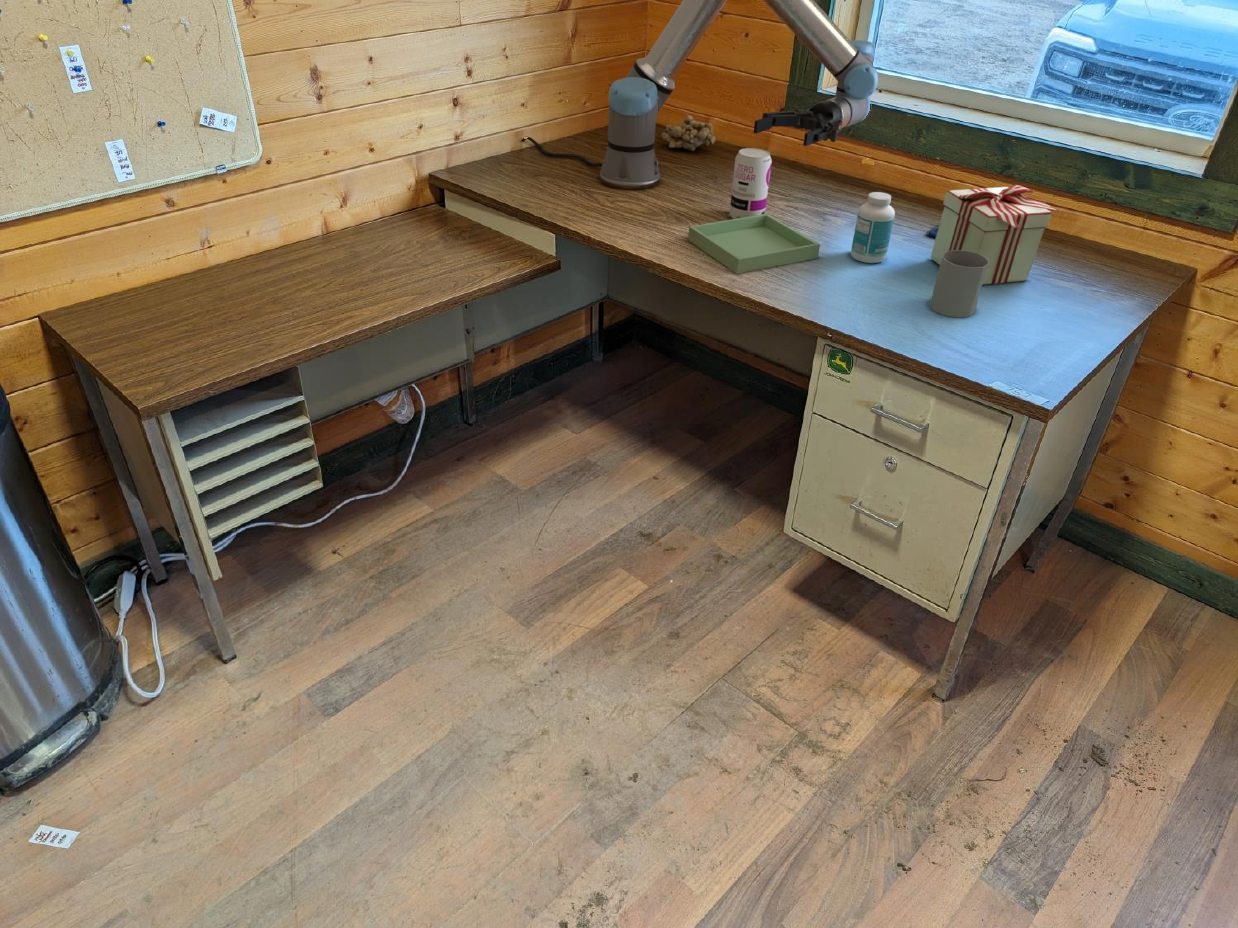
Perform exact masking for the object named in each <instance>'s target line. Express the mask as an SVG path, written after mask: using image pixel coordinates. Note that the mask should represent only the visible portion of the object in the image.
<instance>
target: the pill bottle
mask: <svg viewBox="0 0 1238 928" xmlns="http://www.w3.org/2000/svg"><path fill="white" fill-rule="evenodd" d="M866 200H867V202H865V203H863V204H861V205H860V206H859V208H858V211H857V215H856V216H857V217H856V222H855V227H854V232H853V238H852V243H851V249H850V256H851V257H852V258H853V259H854V260H856V261H858V262H861V263H866V264H878V263H881V262H883V261H885V259H886V257H887V253H888V250H889V244H890V240H891V235H892V229H893V226H894V225H893V224H894V220H895V215H896V211H895V209H894V207H892V206H891V205H890V204H891V202H892V195H891V194H889V193H887V192H882V191H873V192H870V193H868V194H867V199H866Z"/></svg>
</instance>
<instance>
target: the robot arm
mask: <svg viewBox="0 0 1238 928" xmlns="http://www.w3.org/2000/svg"><path fill="white" fill-rule="evenodd" d="M727 1H728V0H682V1H681V2H680V4H679V6H678V7H677V9H676V10H675V11H674V13H673V15H672V16H671V18H670V19H669V21H668V23H667V25H666V26H665V27H664V29H663V31H662V32H661V34H660V35H659V37H658V38H657V40H656V41H655V43H654V44H653V46H652V47H651V49H650V50H649V52H648V53H647V55H646V56H645V57H641V58H637V59H636V61H635V63H634V64H633V66H632V67H631V69H630V70H629V71H628V73H627V75H626V76H625V77H622V78H621V79H617V80H615V81H614V82H612V83H611V85H610V87H609V93H608V95H607V96H608V97H607V101H608V122H607V123H608V125H607V126H608V127H607V150H606V153H605V156H604V159H603V162H602V163H601V162H592V161H590V160H588V159H587V158H586V157H585V156H582V155H579V154H574V153H554V152H549V151H547V150H545V149H544V146H542V145H541V144H540V143H539V142H537V141H536V140H535V139H534V138H533V137H531V136H527V137H528V138H527V139H528V140H527V139H524V137H523V138H521V140H520V142H525V141H530V142H531V143H532V144H533V145H535V146H536V147H537V148H539V149H540V151H541V152H542V154H544V155H546V156H550V157H556V158H557V157H558V158H575V159H578V160H582V161H583V162H584V163H586V164H587V165H589V166H592V167H600V171H599V181H600V182H601V183H602V184H604V185H606V186H607V187H610V188H615V189H620V190H631V191H632V190H635V191H636V190H645V189H649V188H653V187H655V186H658V185H659V183H660V180H661V173H660V172H661V171H660V168H659V161H658V159H657V156H656V152H655V141H656V126H657V125H656V123H657V118H658V114H659V112H660V110H661V109H662V107H663V106H664V105H665V103H666V102H667V100H668V99H669V97H670V96H671V94H672V93H673V91H674V90H675V88H676V87H675V78H676V76H677V75H678V73H679V72H680V70H681V68H682V67H683V66H684V64H685V63H686V61H687V60H688V58H689V57H690V55H691V54H692V52H693V51H694V49H695V48H696V46H697V45H698V43H699V42H700V41H701V40H702V38H703V36H704V35H705V33H706V32H707V30H708V29H709V27H710V26H711V25H712V23H713V21H714V20H715V18H716V17H717V16H718V14H719V13H720V11H721V10H722V8H723V6H724V5H725V4H726V2H727ZM763 2H764V3H765V4H766V5H767V6H768V7H769V9H771V10H772V11H773V12H774V13H775V15H776V16H778V18H779V19H780V20H781V21H782V22H783V24H785V26H787V28H788V29H789V30H790V31H791V32H792V33H793V34H794V35H795V36H796V37H797V38H798V39H799V41H800V42H801V43H802V44H803V45H804V46H805V47H806V48H807V49H808V50H809V51H810V52H811V53H812V54H813V56H814V57H815V58H816V59H817V60H818V61H819V62H820V63H821V65H823V67H824V68H825V69H826V70H827V71H828V72H829V73H830V74H831V75H832V76H833V78H834V79H835V81H837V85H836V88H835V95H834V97H832V98H828V99H826V100H823V101H820V102H817V103H815V104H813V105H812V106H811V107H810V109H809V110H807V111H805V112H798V109H791V110H785V111H784V110H783V111H771V112H770V111H769V112H763V113H762V116H761V117H762V118H759V119H757V120H754V125H753V134H759V133H762V132H765V131H770V130H771V129H772V128H780V127H781V128H783V127H787V128H788V127H790V128H791V127H793V128H794V129H796V130H797V129H799V130H801V129H802V130H803V129H804V130H808V131H807V132H804V137H803V143H802V146H804V147H808V146H811V145H813V144H815V143H818V142H821V141H824V142H826V141H828V140H830V142H832V143H835V142H836V141H837V138H838V134H840V133H841V132H842V129H845V128H847V127H850V126H855V125H857V124H858V123H860V122H862V121H864V120H866V118H867V117H868V116H869V115H868V113H869V111H870V112H871V110H870V104H871V105H872V101H871V98H870V97H871V96H872V95H873V94H874V93H875V91H876V90H877V87H878V83H879V74H878V71H877V69H876V68H875V66H874V62H873V61H874V58H875V49H876V46H875V44H874V43H873V42H871V41H869V40H862V39H861V40H860V39H852V40H850V39H849V38H848V37H847V36H846V34H845V33H844V32H843V31H842V30H841V29H840V28H839V27H838V25H837V24H836V23H835V22H834V21H833V20H832V18H830V17H829V16H828V14H827V13H826V12H825V11H824V10H823V8H821V7H820V5H819V4H818V3H817V2H816V1H815V0H763ZM869 114H870V113H869ZM867 115H868V116H867ZM866 116H867V117H866ZM809 130H810V131H809Z"/></svg>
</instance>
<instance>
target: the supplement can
mask: <svg viewBox="0 0 1238 928" xmlns="http://www.w3.org/2000/svg"><path fill="white" fill-rule="evenodd" d="M772 162H773V160H772V157H771V152H770V151H768V150H766V149H763V148H756V147H746V148H740V149H739V151H738V153H737V154H736V156H735V158H734V166H733V176H732V184H731V185H732V186H731V193H730V194H731V195H730V202H729V214H728V215H729V216H730V217H731V220H732V219H738V218H744V217H750V216H756V215H762V214H766V208H767V201H768V194H769V188H770V187H769V186H770V178H771V171H772Z"/></svg>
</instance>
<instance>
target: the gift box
mask: <svg viewBox="0 0 1238 928" xmlns="http://www.w3.org/2000/svg"><path fill="white" fill-rule="evenodd" d="M1026 193H1028V194H1029V193H1030V194H1032V193H1034V190H1032V189H1029V188H1027V187H1025V186H1023V185H1020V184H1014V185H1011V186H1009V187H1008V186H998V187H983V188H982V187H981V188H968V189H967V188H966V189H951V190H946V192H945V194H944V199H943V203H942V206H944V207H943V210H942V214H941V218H940V221H939V224H938V225H939V228H938V232H937V236H936V237H935V240H934V243H933V247H932V250H931V254H930V259H931V260H932V261H934V262H935V263H936V264H938V265H939V266H940V263H941V260H942V256H943V253H945V252H947V251H952V250H963V251H970V252H974V253H977V254H980V255H982V256H984V257H985V258H986V259H987V260H988V261H989V264H988V268H987V271H986V274H985V278H984V281H983V285H982V286H986V285H997V284H1006V283H1018V282H1025V281H1027V280H1028V278H1029V275H1030V272H1031V271H1032V270H1031V269H1032V266H1033V265H1034V264H1033V263H1034V261H1035V258H1036V255H1037V252H1038V249H1039V246H1040V243H1041V241H1042V237H1043V235H1044V233H1045V232H1044V231H1045V229H1046V228H1048V227H1049V224H1050V222H1051V219H1052V215H1053V212H1058V213H1059V212H1061V211H1060V210H1058V209H1055V208H1054V207H1052V206H1051V205H1049V204H1047V203H1046V202H1043V201H1039V200H1036V199H1032V198H1028V197H1026V196H1024V195H1023V194H1026ZM1052 211H1053V212H1052Z"/></svg>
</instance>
